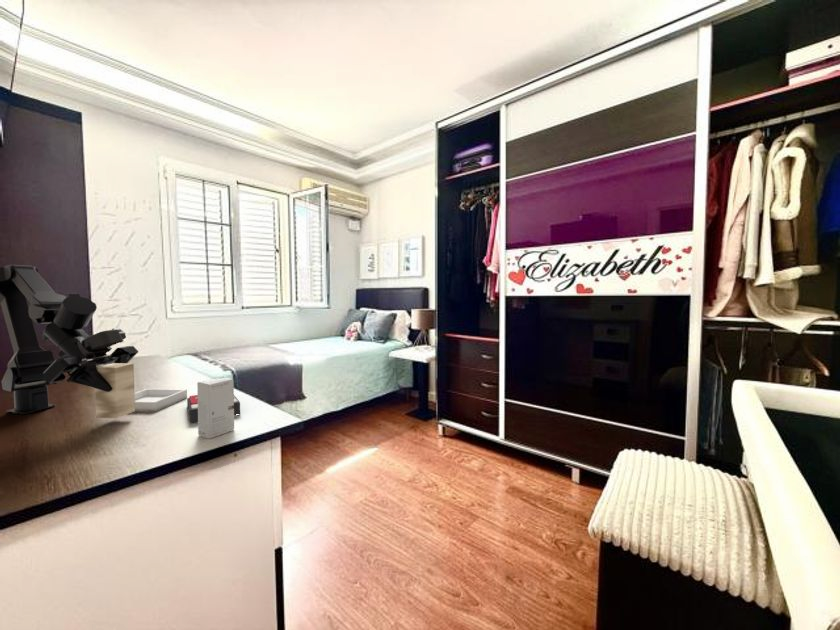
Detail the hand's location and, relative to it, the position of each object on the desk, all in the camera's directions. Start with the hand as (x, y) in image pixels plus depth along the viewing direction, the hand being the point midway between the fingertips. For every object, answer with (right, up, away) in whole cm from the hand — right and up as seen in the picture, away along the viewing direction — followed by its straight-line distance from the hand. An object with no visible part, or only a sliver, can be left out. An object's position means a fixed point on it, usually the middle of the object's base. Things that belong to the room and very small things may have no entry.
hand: (120, 387), depth 82 cm
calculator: (+16, -9, +10) cm, 21 cm away
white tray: (-4, -8, +14) cm, 17 cm away
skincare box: (+26, -10, -4) cm, 28 cm away
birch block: (-1, -7, 0) cm, 7 cm away
